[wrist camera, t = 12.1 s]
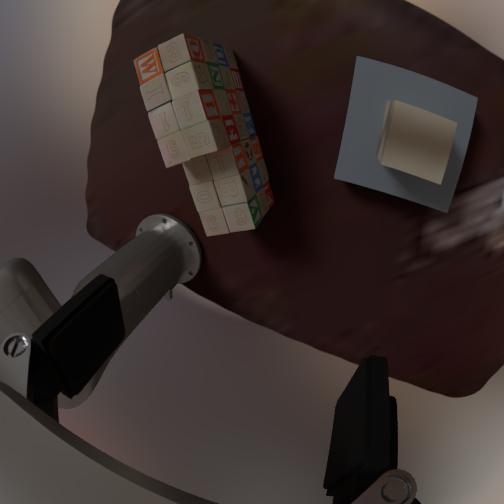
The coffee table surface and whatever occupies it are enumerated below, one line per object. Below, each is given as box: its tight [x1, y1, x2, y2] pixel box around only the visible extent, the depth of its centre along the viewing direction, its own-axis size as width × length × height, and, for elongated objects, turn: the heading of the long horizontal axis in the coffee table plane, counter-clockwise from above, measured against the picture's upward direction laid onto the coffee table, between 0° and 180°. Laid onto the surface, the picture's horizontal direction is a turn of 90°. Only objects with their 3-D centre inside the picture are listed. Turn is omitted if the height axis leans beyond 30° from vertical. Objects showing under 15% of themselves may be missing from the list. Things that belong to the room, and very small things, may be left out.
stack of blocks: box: [134, 34, 274, 236], centre depth 31 cm, size 21×6×12 cm, turn 16°
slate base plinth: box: [334, 56, 478, 213], centre depth 28 cm, size 14×14×4 cm
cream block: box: [376, 100, 457, 185], centre depth 24 cm, size 6×6×6 cm
